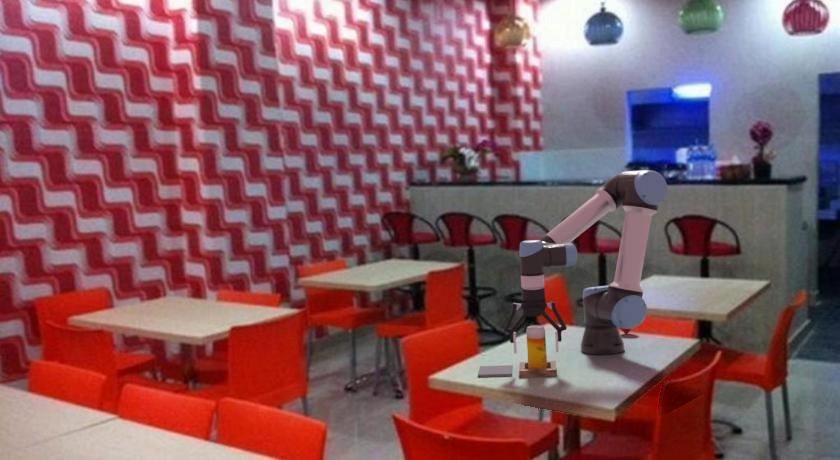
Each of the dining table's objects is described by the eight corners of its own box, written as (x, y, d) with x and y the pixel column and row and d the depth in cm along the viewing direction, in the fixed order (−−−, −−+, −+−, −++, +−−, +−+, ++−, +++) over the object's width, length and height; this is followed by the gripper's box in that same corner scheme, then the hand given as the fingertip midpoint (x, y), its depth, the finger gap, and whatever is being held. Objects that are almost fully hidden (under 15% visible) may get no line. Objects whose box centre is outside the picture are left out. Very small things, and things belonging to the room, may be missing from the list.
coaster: (512, 367, 262) (512, 365, 262) (511, 376, 251) (511, 373, 251) (480, 368, 264) (480, 366, 264) (477, 377, 253) (477, 374, 253)
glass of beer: (547, 374, 251) (544, 328, 250) (528, 374, 252) (525, 328, 251) (547, 369, 257) (545, 324, 256) (529, 369, 258) (526, 325, 257)
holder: (556, 366, 259) (555, 360, 259) (557, 375, 248) (556, 369, 247) (520, 367, 261) (519, 361, 261) (519, 377, 249) (519, 371, 249)
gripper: (571, 284, 254) (574, 348, 256) (495, 287, 258) (498, 350, 259) (572, 288, 247) (575, 353, 248) (494, 291, 251) (497, 355, 252)
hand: (536, 352), depth 254 cm, fingers open, 13 cm apart
